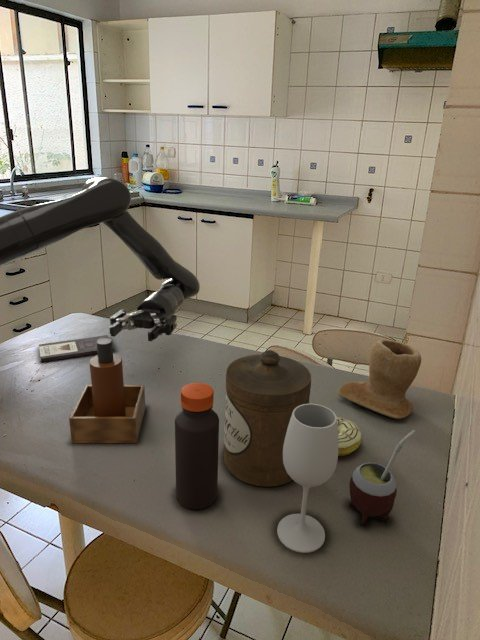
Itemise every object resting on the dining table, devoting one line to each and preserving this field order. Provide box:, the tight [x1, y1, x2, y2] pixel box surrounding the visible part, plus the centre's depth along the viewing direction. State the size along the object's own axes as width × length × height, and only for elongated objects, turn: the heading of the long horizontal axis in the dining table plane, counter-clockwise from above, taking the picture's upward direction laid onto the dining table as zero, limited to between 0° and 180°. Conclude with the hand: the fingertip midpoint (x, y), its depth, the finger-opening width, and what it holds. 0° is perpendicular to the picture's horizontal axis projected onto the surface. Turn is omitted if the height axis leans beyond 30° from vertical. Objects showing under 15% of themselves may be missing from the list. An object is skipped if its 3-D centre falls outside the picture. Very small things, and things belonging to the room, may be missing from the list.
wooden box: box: [68, 384, 146, 444], centre depth 93 cm, size 12×12×6 cm
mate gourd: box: [348, 429, 417, 527], centre depth 72 cm, size 8×8×15 cm
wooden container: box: [223, 349, 312, 488], centre depth 81 cm, size 15×15×22 cm
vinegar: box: [174, 382, 220, 510], centre depth 73 cm, size 7×7×20 cm
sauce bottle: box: [89, 338, 126, 417], centre depth 90 cm, size 6×6×18 cm
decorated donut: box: [336, 415, 362, 457], centre depth 90 cm, size 10×11×4 cm
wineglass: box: [276, 403, 339, 554], centre depth 66 cm, size 8×8×21 cm
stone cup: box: [337, 339, 422, 420], centre depth 102 cm, size 15×12×15 cm
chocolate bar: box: [38, 334, 115, 363], centre depth 124 cm, size 9×1×18 cm
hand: (130, 334), depth 98 cm, fingers open, 8 cm apart
